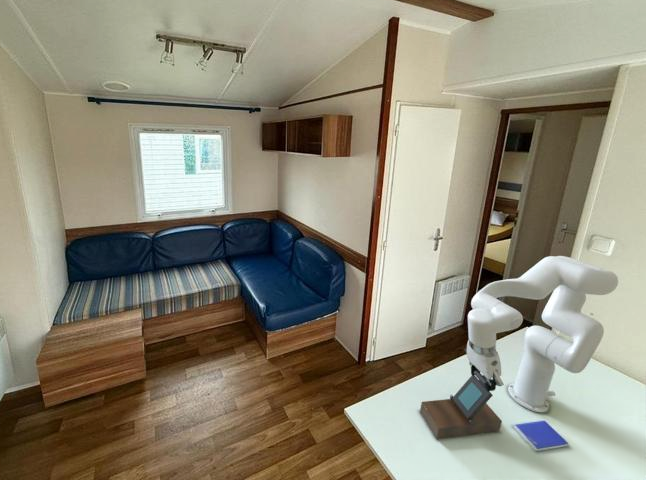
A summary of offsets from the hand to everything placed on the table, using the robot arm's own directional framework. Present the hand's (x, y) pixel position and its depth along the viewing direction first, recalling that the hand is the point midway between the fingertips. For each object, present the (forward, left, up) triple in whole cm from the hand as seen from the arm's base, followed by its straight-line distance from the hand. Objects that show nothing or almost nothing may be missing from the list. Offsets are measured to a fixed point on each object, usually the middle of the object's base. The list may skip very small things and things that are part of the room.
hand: (483, 381), depth 102 cm
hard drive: (-18, +8, -17) cm, 27 cm away
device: (+2, 0, -5) cm, 5 cm away
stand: (+7, 0, -17) cm, 18 cm away
